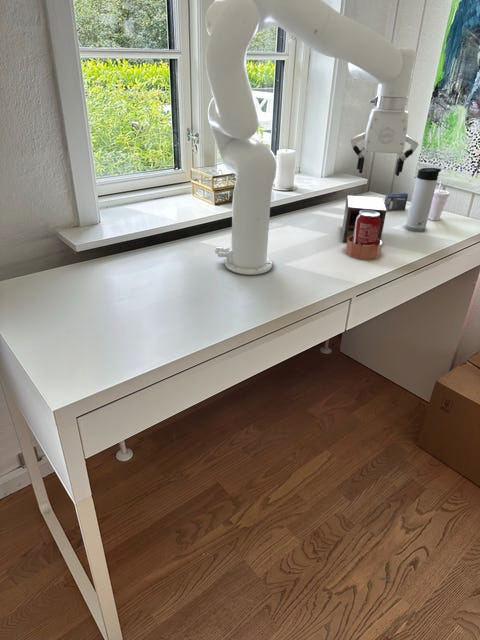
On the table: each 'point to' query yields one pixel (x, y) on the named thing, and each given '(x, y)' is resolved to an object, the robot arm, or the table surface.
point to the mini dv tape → (395, 201)
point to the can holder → (363, 250)
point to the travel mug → (422, 199)
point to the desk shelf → (358, 204)
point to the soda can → (366, 228)
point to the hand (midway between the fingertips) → (378, 173)
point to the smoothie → (438, 203)
